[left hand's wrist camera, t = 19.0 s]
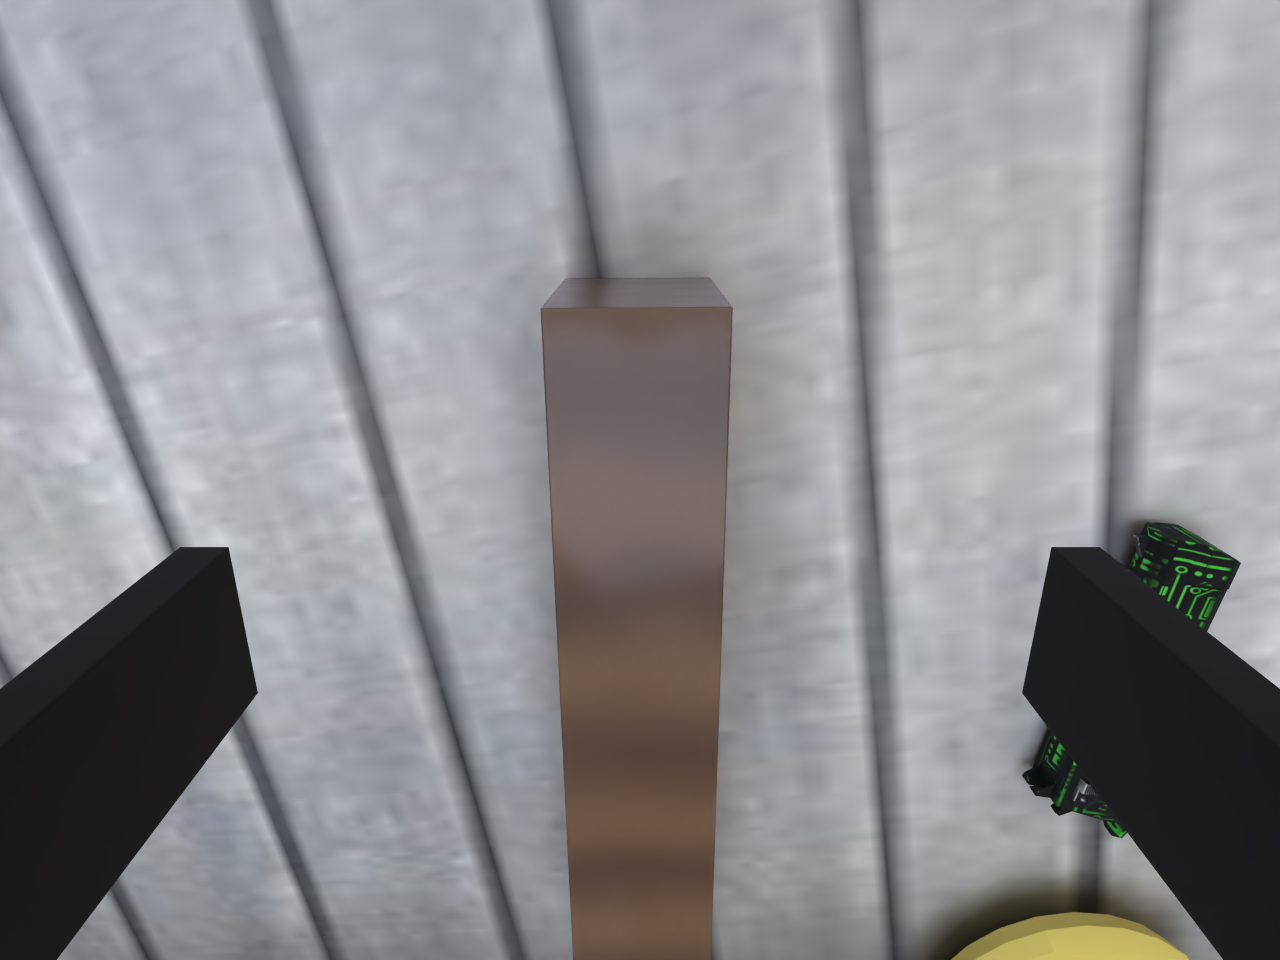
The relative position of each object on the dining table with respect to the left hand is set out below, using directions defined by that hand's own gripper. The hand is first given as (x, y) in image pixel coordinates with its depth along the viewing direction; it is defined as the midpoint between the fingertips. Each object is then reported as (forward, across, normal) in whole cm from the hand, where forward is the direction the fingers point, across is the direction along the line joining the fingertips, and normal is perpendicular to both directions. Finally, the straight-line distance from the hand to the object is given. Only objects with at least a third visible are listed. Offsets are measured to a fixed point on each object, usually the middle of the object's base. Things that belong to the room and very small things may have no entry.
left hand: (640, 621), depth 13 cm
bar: (+22, 0, -13) cm, 26 cm away
